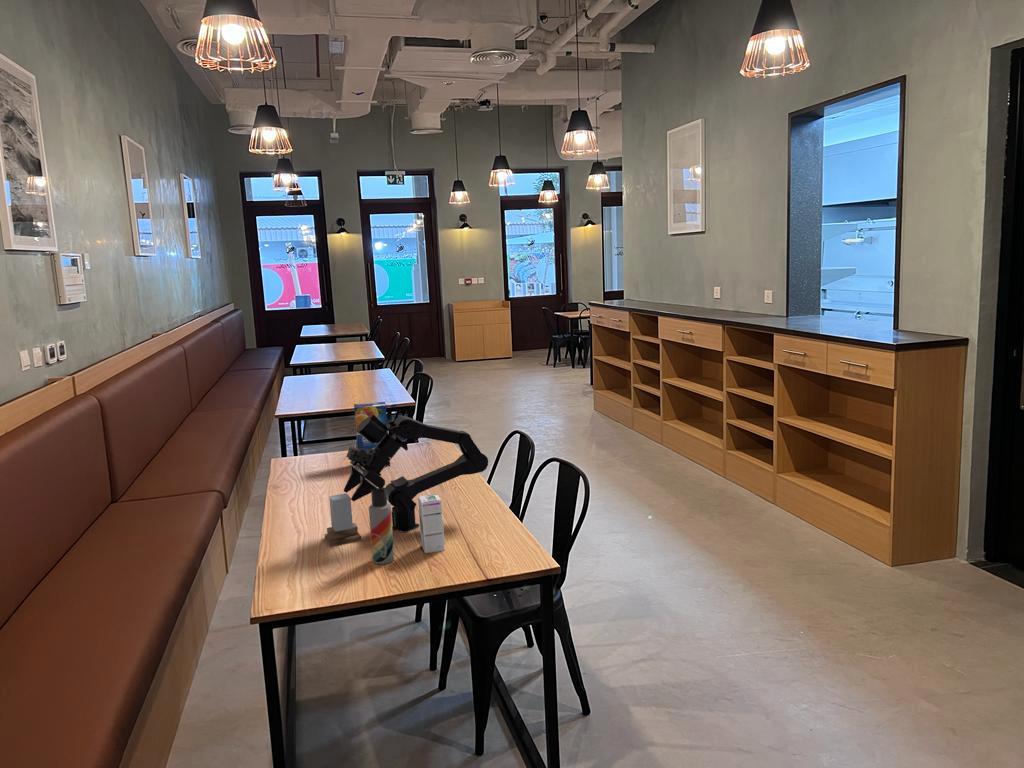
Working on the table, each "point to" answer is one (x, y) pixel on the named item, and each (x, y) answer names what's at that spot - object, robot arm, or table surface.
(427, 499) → the syrup box
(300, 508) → the table surface
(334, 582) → the table surface
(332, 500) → the slate post
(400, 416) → the robot arm
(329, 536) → the walnut ridge
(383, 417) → the juice carton
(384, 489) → the lotion bottle
